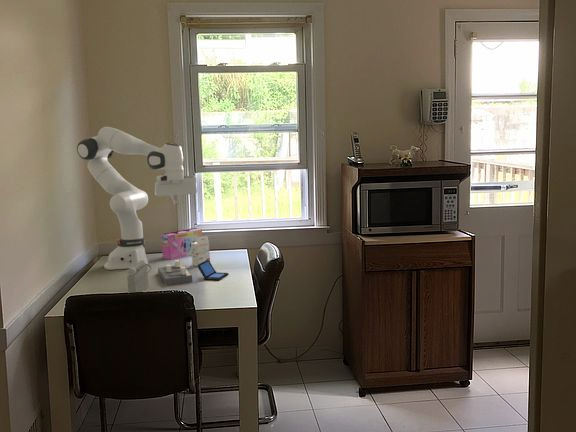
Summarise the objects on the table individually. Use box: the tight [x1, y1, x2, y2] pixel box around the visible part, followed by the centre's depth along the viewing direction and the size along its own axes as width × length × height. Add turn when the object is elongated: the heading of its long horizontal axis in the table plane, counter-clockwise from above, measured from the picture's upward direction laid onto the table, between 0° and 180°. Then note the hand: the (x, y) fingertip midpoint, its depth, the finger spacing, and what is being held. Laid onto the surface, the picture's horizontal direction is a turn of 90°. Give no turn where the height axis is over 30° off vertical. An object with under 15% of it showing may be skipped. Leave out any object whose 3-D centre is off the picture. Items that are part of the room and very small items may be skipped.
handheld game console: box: [196, 260, 229, 282], centre depth 280 cm, size 12×11×7 cm
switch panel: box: [157, 264, 193, 286], centre depth 282 cm, size 12×24×3 cm, turn 20°
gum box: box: [160, 227, 204, 260], centre depth 332 cm, size 24×8×14 cm, turn 134°
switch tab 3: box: [180, 266, 187, 275], centre depth 275 cm, size 2×3×3 cm, turn 20°
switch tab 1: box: [165, 264, 172, 272], centre depth 280 cm, size 2×3×3 cm, turn 20°
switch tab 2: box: [174, 259, 181, 268], centre depth 290 cm, size 2×3×3 cm, turn 20°
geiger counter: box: [126, 260, 152, 293], centre depth 250 cm, size 14×6×25 cm
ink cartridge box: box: [191, 235, 211, 267], centre depth 307 cm, size 9×5×15 cm, turn 143°
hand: (176, 204), depth 292 cm, fingers closed
